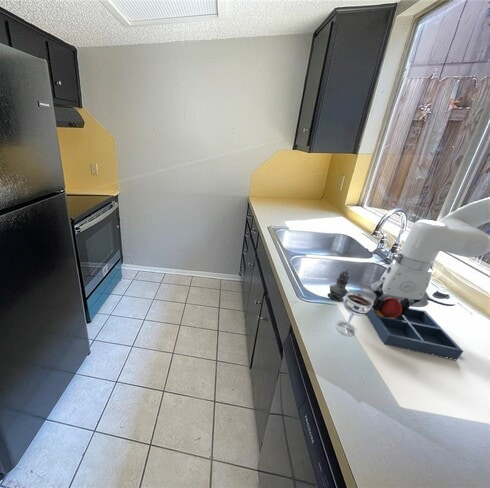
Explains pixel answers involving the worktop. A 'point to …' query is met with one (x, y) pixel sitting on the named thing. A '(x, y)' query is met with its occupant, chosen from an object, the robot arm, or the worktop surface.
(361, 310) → the wineglass
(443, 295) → the worktop surface
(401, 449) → the worktop surface
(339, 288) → the dark grey statuette
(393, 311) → the onion
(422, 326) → the grid
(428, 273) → the robot arm
